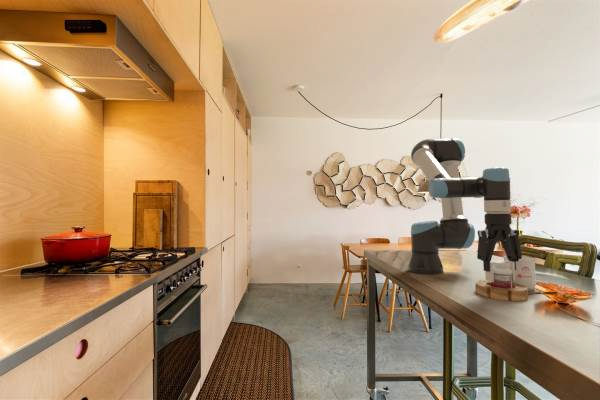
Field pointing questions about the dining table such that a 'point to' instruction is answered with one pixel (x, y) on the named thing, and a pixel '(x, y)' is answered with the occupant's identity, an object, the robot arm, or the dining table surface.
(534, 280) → the mug
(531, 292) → the lace
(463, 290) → the dining table surface
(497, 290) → the wooden ring
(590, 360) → the dining table surface
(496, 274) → the pill bottle
